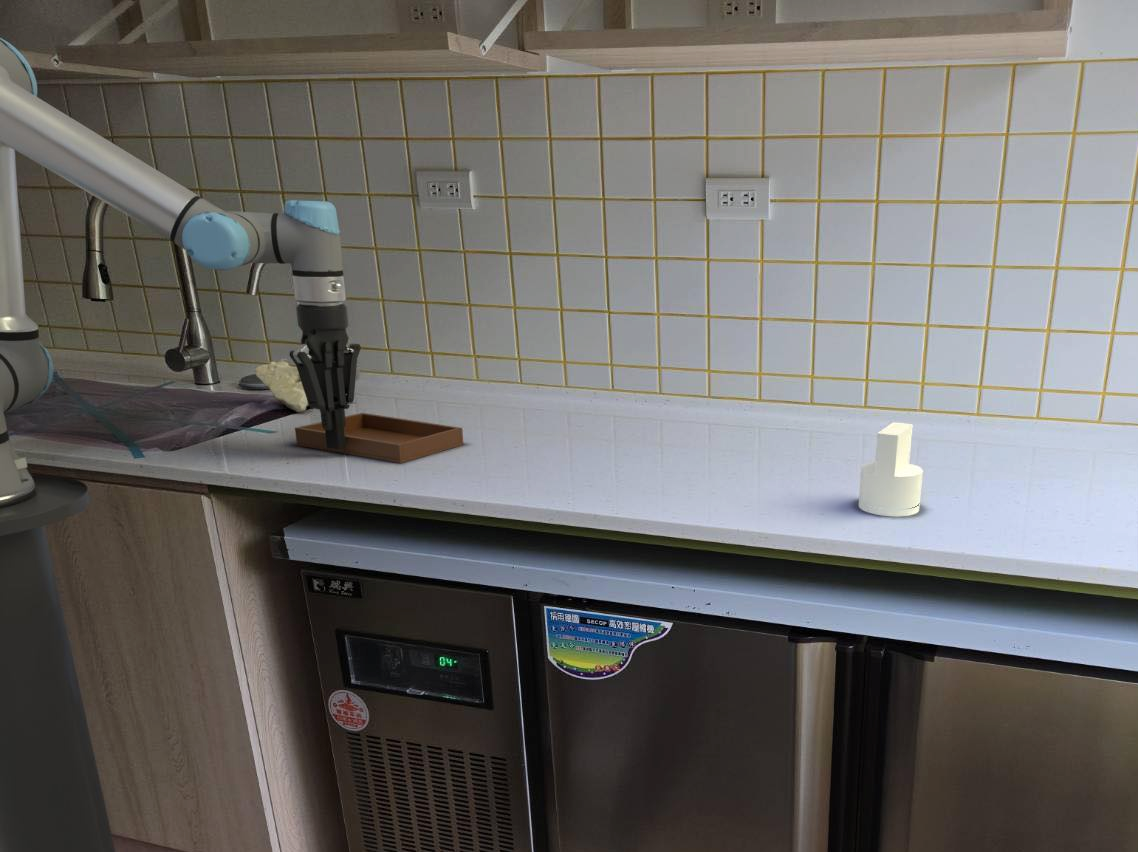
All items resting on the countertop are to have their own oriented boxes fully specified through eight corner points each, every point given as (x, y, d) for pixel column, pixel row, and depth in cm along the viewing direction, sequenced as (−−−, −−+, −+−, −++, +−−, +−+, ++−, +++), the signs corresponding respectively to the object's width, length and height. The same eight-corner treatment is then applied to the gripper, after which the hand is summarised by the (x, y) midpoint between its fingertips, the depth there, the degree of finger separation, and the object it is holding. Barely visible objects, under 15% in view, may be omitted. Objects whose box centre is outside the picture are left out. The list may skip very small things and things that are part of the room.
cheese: (340, 420, 199) (341, 365, 206) (319, 399, 192) (321, 342, 200) (270, 441, 200) (274, 385, 208) (248, 420, 194) (252, 363, 201)
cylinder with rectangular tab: (910, 519, 141) (918, 438, 137) (850, 510, 144) (856, 430, 140) (925, 504, 148) (933, 426, 144) (868, 495, 152) (874, 419, 148)
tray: (400, 463, 161) (398, 445, 160) (296, 445, 170) (294, 427, 169) (463, 444, 175) (462, 427, 174) (364, 428, 184) (362, 412, 183)
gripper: (306, 308, 149) (322, 458, 157) (369, 302, 160) (381, 443, 168) (270, 304, 152) (288, 452, 160) (334, 298, 163) (348, 437, 171)
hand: (336, 447), depth 164 cm, fingers closed
